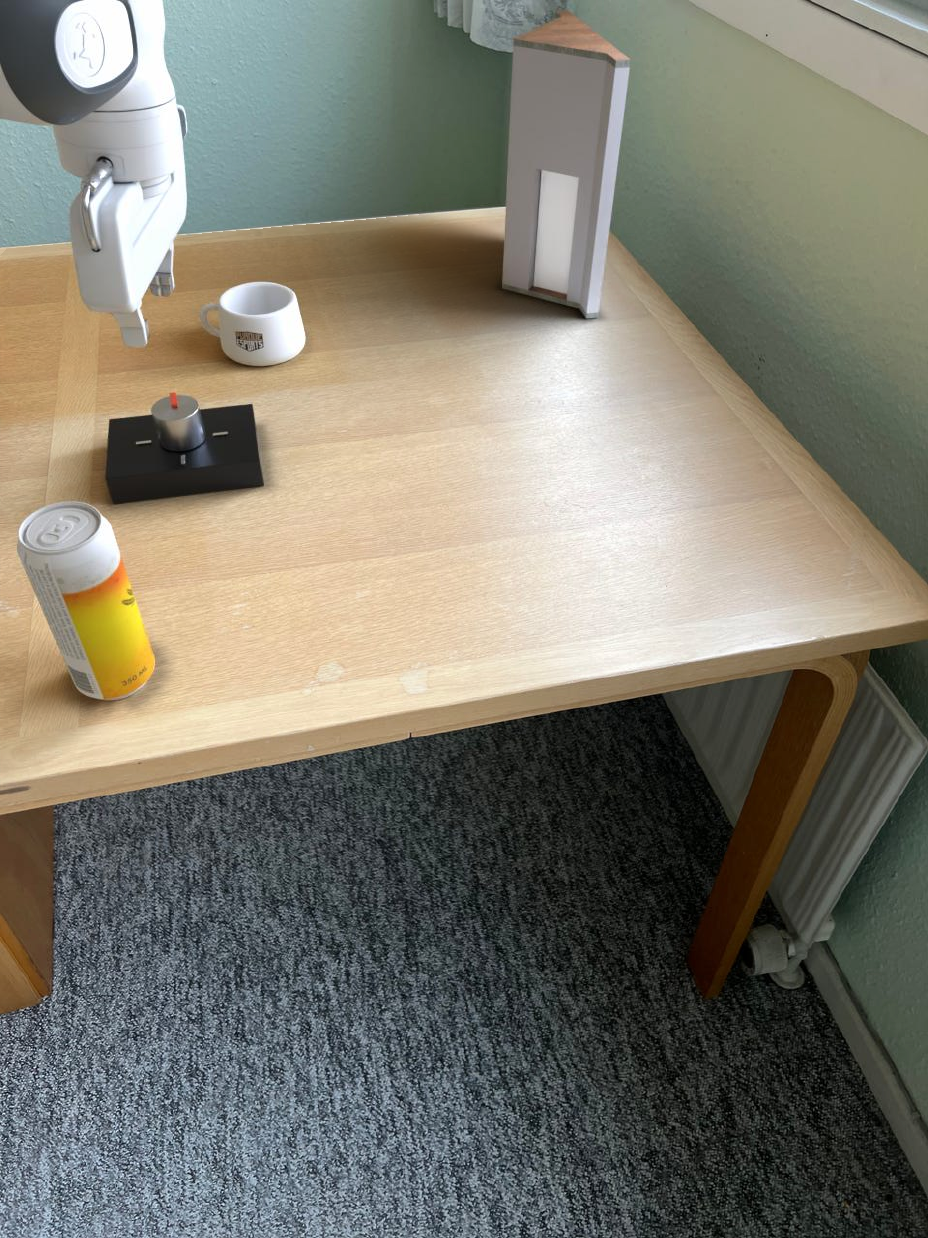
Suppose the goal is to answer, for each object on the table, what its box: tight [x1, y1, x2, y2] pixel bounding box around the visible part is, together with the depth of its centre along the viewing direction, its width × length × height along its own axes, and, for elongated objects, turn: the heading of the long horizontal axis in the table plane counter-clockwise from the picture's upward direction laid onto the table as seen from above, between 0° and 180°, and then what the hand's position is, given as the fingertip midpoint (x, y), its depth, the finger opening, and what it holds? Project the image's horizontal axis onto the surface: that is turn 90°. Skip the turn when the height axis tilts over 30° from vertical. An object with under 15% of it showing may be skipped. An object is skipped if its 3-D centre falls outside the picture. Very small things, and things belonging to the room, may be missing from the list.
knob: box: [150, 391, 206, 452], centre depth 87 cm, size 4×4×4 cm
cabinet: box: [501, 9, 631, 319], centre depth 110 cm, size 21×10×28 cm, turn 13°
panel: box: [104, 403, 265, 505], centre depth 90 cm, size 14×10×3 cm
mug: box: [199, 281, 306, 367], centre depth 105 cm, size 12×10×6 cm
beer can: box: [16, 500, 156, 701], centre depth 66 cm, size 6×6×15 cm
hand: (151, 317), depth 77 cm, fingers open, 8 cm apart
